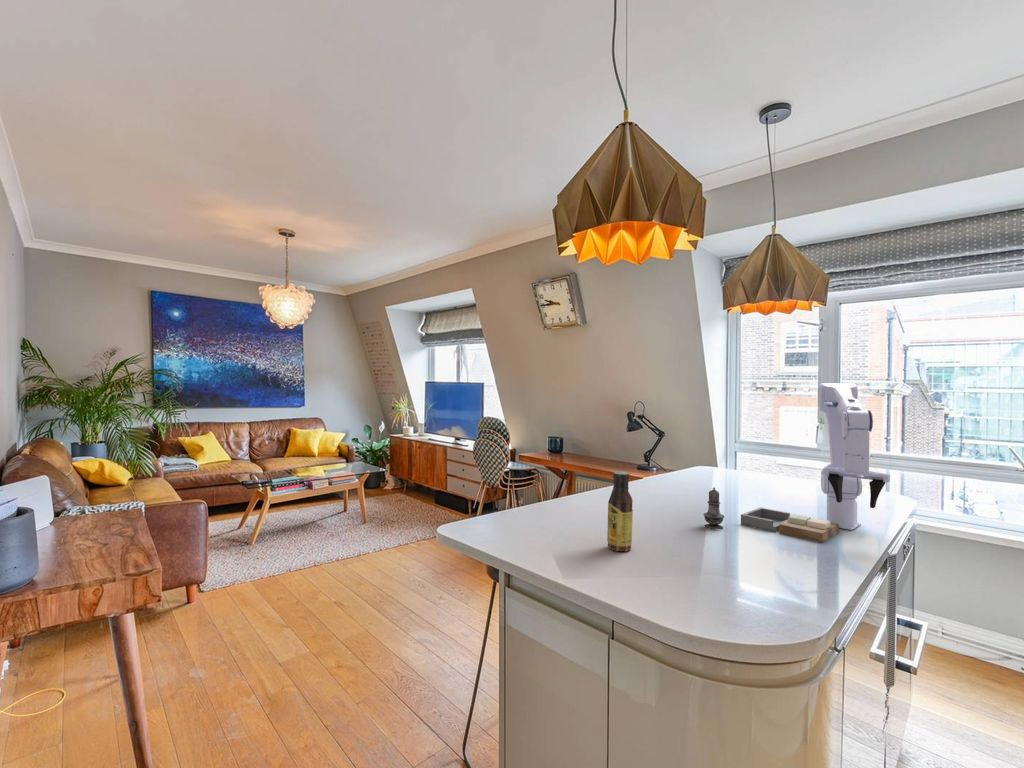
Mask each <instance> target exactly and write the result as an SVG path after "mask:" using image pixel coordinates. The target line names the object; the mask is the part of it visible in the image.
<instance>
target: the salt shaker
mask: <svg viewBox="0 0 1024 768" xmlns="http://www.w3.org/2000/svg"><path fill="white" fill-rule="evenodd" d="M707 504H708V510H707V512H705V513H703V514H702V515H703V517H704V521H705V522H707V523H706V524H704V526H705V527H704V528H706V527H707V528H706V529H708V528H710V529H709V530H714V529H721V530H724V527H723V526H722V525H721V524H722V523H723V521H724V518H725V515H724V514H722V513H721V512H720V505H721V502H720V492H719V491H718V490H716V487H712V489H711V490H709V491H708V501H707Z"/></svg>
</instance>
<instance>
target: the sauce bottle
mask: <svg viewBox="0 0 1024 768" xmlns="http://www.w3.org/2000/svg"><path fill="white" fill-rule="evenodd" d="M612 477H613V478H612V479H613V488H612V491H611V493H610V497H609V499H608V503H607V506H608V507H607V535H606V536H607V538H606V539H607V548H608V549H609V550H612V551H613V550H614V551H613V552H618V551H621V553H623V552H622V551H625V552H629V551H631V549H632V544H633V515H634V514H633V513H634V512H633V511H634V510H633V504H634V503H633V501H634V500H633V497H632V495H631V494H630V491H629V488H630V487H629V480H630V472H628V471H623V470H619V471H613V473H612ZM628 550H629V551H628Z"/></svg>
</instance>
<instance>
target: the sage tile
mask: <svg viewBox="0 0 1024 768" xmlns="http://www.w3.org/2000/svg"><path fill="white" fill-rule="evenodd" d="M809 519H812V518H811V517H810V516H804V515H800V514H796V513H795V514H791V515H790V516H789V517H788V522H791V523H796V524H801V525H807V520H809Z"/></svg>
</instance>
